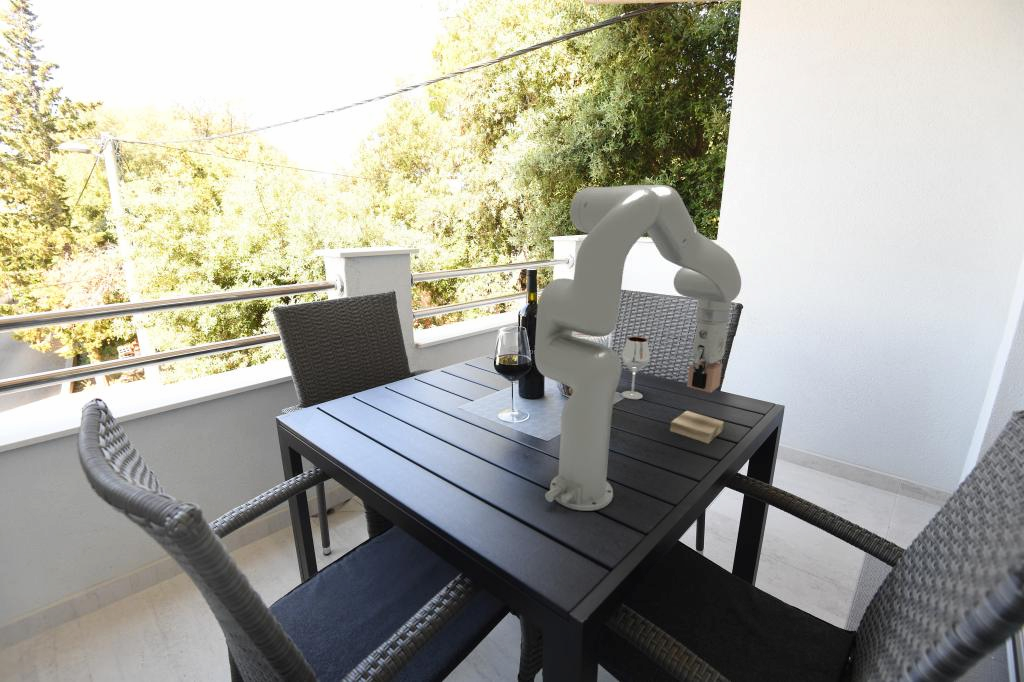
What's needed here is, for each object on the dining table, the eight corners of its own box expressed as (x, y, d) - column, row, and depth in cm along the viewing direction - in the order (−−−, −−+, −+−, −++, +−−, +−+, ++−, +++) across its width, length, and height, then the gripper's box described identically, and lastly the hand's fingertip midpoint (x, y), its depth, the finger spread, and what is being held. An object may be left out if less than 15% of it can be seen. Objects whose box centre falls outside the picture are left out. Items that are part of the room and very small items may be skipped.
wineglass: (648, 401, 145) (654, 343, 140) (621, 400, 145) (626, 342, 140) (642, 391, 153) (647, 336, 148) (616, 390, 153) (620, 335, 148)
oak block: (708, 445, 120) (709, 434, 119) (669, 432, 126) (671, 421, 126) (722, 432, 127) (723, 421, 126) (685, 420, 134) (686, 410, 133)
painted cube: (710, 392, 119) (713, 369, 118) (686, 386, 123) (689, 364, 122) (719, 386, 124) (722, 364, 122) (696, 380, 128) (698, 358, 126)
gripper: (715, 324, 110) (705, 397, 115) (740, 311, 122) (730, 378, 127) (683, 318, 114) (675, 389, 119) (710, 307, 127) (701, 372, 132)
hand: (703, 383), depth 123 cm, fingers closed on painted cube, 6 cm apart
